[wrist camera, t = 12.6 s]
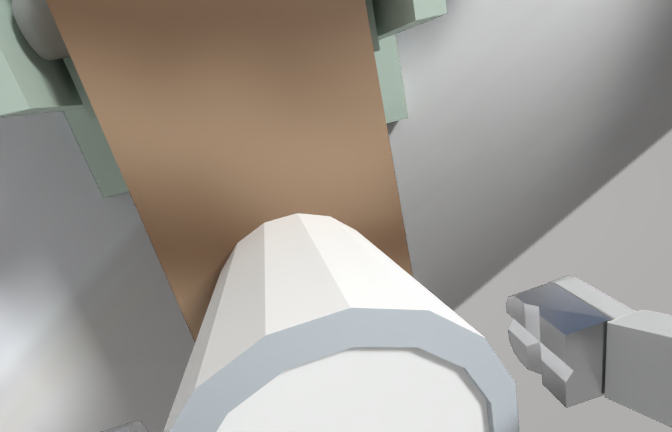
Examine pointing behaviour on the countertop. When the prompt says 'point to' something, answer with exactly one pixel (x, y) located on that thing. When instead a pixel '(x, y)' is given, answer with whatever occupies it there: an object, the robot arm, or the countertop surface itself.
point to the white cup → (335, 344)
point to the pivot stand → (70, 97)
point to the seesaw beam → (231, 120)
